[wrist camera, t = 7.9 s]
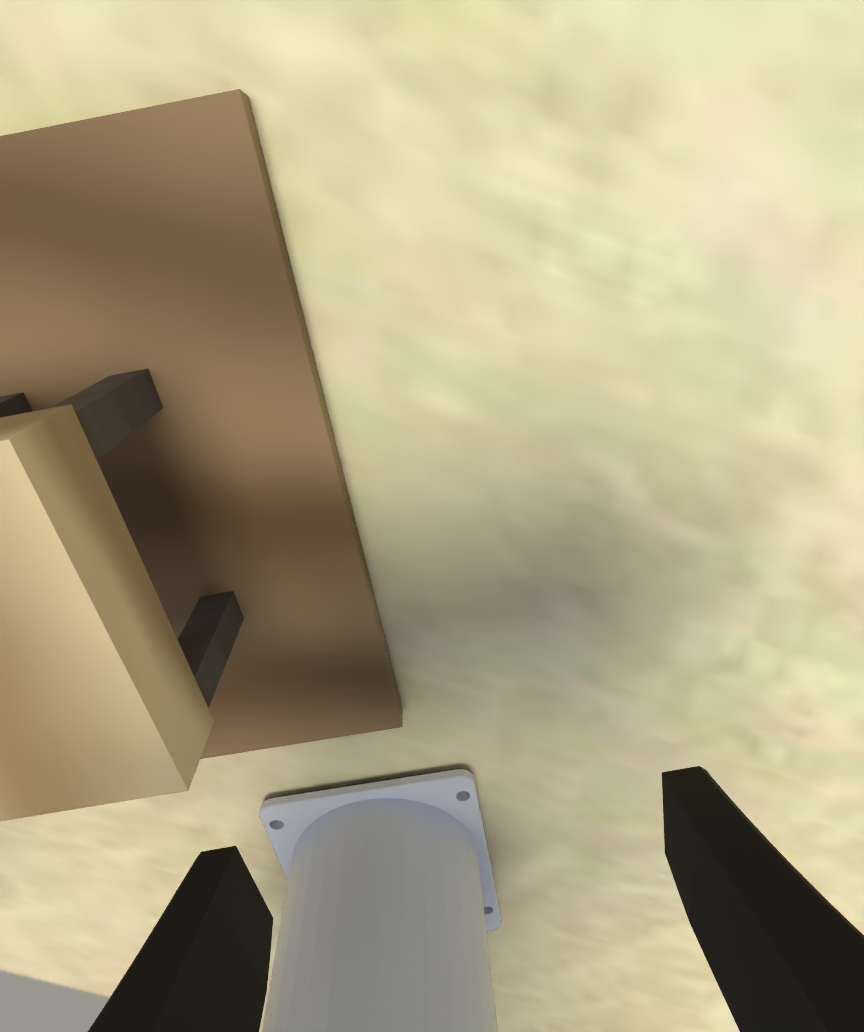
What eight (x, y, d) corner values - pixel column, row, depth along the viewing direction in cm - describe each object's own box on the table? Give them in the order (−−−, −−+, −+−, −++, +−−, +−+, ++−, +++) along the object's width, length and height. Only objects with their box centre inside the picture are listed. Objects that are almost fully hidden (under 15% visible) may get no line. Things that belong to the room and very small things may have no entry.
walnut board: (402, 709, 21) (402, 726, 21) (69, 762, 22) (58, 781, 21) (248, 95, 13) (239, 89, 13) (-272, 198, 14) (-310, 196, 13)
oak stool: (151, 359, 15) (8, 438, 10) (250, 623, 18) (187, 790, 13) (-26, 392, 15) (-263, 490, 10) (107, 647, 19) (-14, 823, 13)
